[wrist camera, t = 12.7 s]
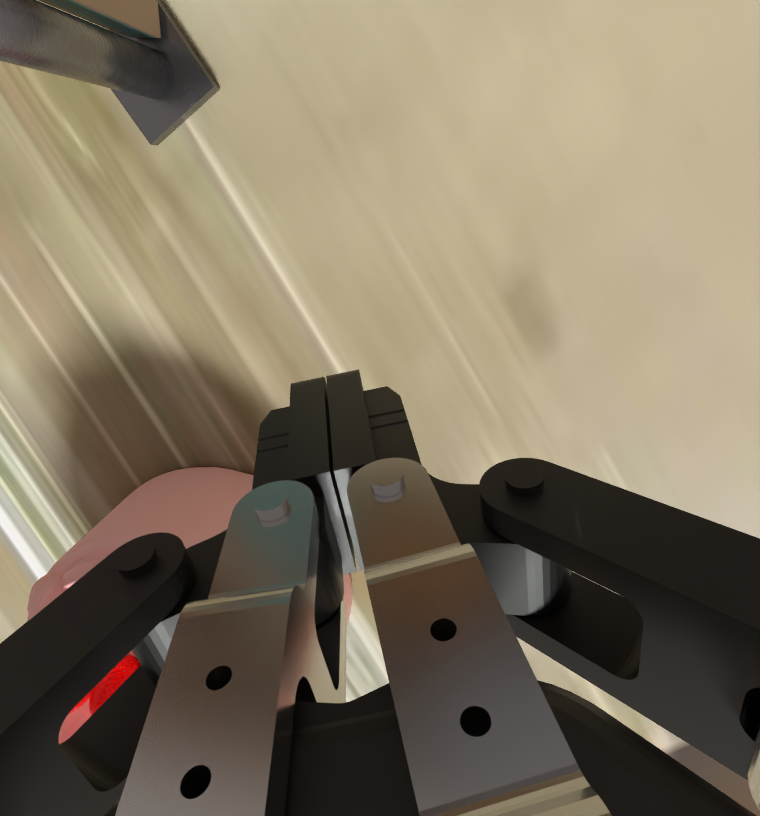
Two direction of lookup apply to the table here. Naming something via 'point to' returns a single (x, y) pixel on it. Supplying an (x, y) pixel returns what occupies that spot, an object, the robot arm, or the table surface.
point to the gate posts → (111, 62)
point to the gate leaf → (116, 15)
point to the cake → (136, 516)
